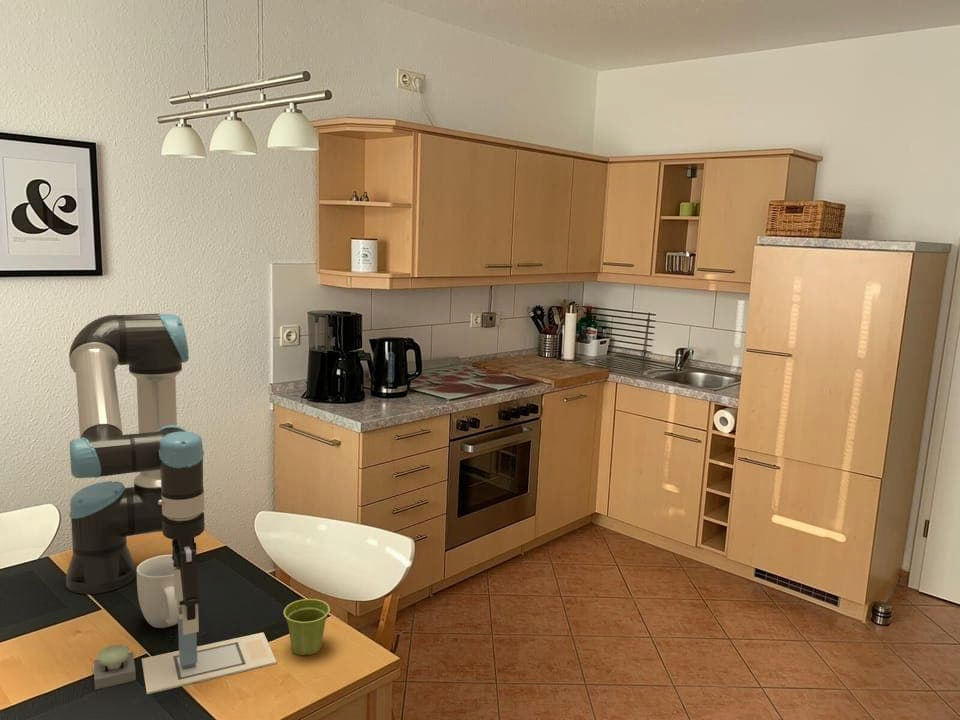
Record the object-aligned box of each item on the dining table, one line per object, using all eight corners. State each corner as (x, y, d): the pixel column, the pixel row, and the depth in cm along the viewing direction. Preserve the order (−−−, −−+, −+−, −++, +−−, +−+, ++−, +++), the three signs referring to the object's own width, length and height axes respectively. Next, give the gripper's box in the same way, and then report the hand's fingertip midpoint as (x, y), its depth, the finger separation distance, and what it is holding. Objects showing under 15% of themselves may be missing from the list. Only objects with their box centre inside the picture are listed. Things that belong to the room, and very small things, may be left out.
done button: (99, 665, 145) (98, 648, 145) (128, 659, 148) (127, 642, 147) (99, 680, 141) (98, 662, 140) (130, 673, 143) (129, 656, 143)
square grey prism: (179, 662, 149) (177, 607, 146) (195, 658, 150) (193, 603, 148) (181, 671, 146) (179, 614, 144) (197, 667, 147) (196, 611, 145)
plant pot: (338, 644, 158) (339, 607, 156) (307, 666, 150) (307, 626, 148) (306, 631, 163) (306, 594, 161) (274, 651, 154) (273, 612, 153)
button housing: (94, 669, 146) (93, 660, 145) (133, 661, 149) (132, 651, 149) (94, 689, 140) (94, 680, 139) (135, 680, 143) (135, 670, 143)
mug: (202, 634, 160) (200, 577, 157) (146, 648, 154) (144, 589, 151) (186, 603, 172) (184, 550, 169) (134, 615, 166) (132, 560, 163)
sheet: (141, 660, 149) (141, 658, 149) (263, 633, 161) (263, 632, 161) (146, 694, 139) (146, 692, 139) (276, 663, 150) (276, 661, 150)
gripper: (155, 492, 151) (159, 588, 155) (169, 543, 130) (172, 653, 134) (194, 487, 155) (197, 581, 159) (214, 537, 133) (216, 643, 137)
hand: (186, 614), depth 146 cm, fingers open, 13 cm apart
